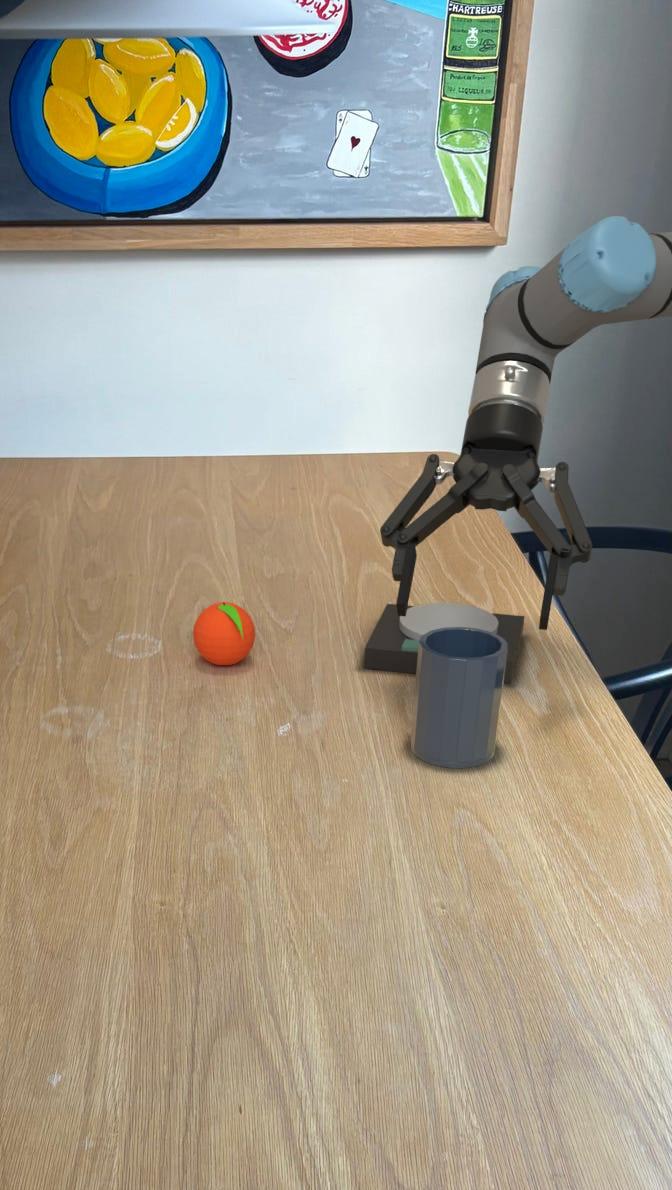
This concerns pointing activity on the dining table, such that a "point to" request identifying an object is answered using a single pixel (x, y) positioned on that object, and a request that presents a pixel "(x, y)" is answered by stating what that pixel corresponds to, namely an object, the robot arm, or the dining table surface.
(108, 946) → the dining table surface
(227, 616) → the clementine
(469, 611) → the scale
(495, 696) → the cup
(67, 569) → the dining table surface
